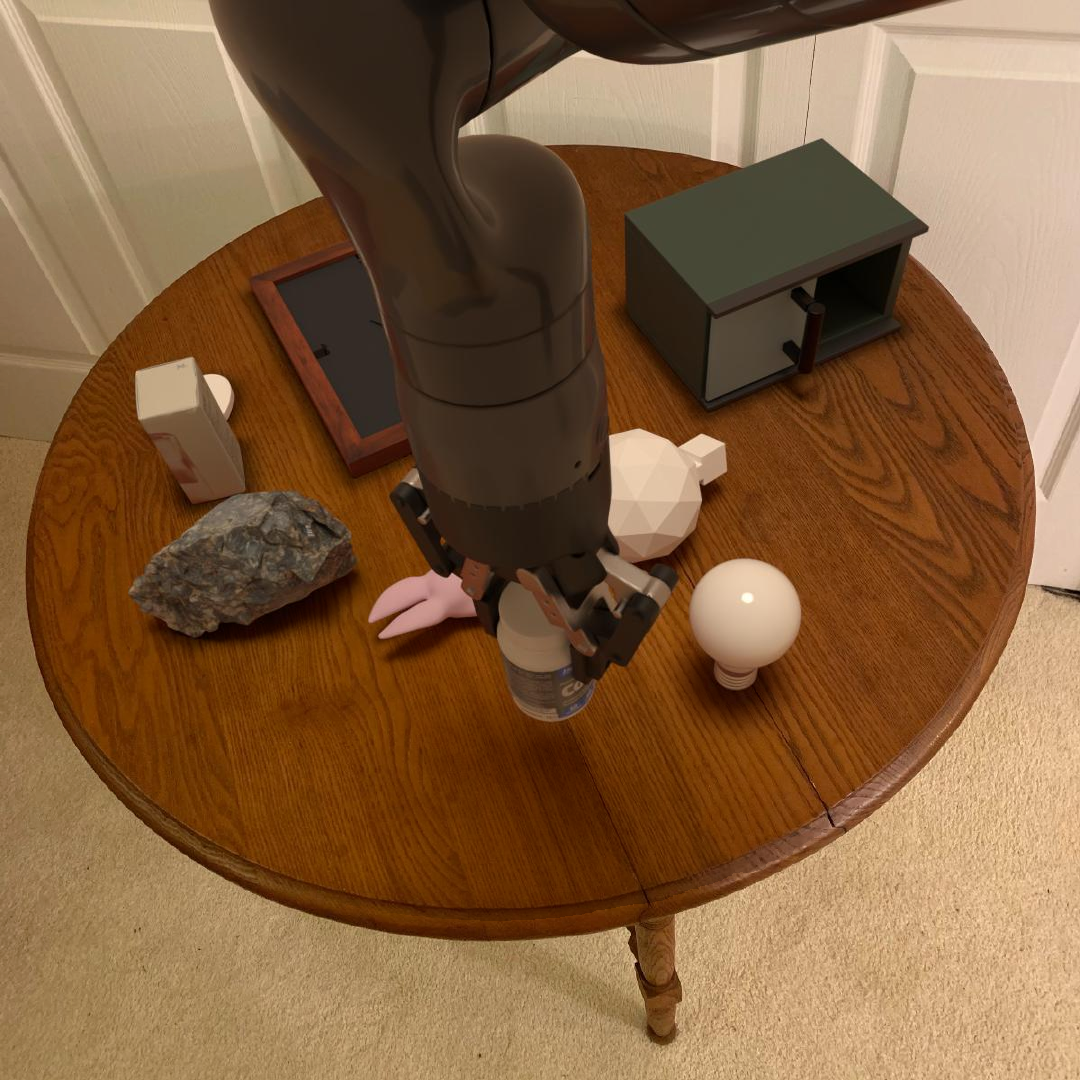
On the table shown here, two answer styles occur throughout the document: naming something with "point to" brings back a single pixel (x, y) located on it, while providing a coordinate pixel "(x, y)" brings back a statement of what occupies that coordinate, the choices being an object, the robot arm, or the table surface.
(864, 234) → the cabinet
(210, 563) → the rock
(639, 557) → the perfume bottle
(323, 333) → the picture frame
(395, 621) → the rabbit figure
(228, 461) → the cream cardboard box
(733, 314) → the door
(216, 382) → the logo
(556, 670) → the pill bottle
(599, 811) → the table surface
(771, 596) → the lightbulb
